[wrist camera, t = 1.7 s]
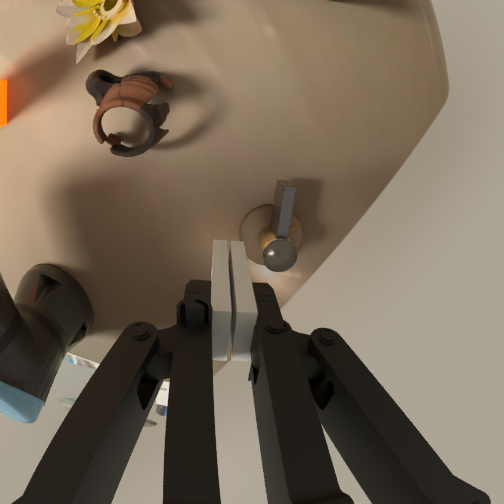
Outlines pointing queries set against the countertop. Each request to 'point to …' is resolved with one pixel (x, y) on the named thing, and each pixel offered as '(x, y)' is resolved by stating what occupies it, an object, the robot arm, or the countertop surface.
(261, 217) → the dial base
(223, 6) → the countertop surface
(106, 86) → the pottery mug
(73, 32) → the decorative flower
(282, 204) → the knob
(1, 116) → the orange juice
